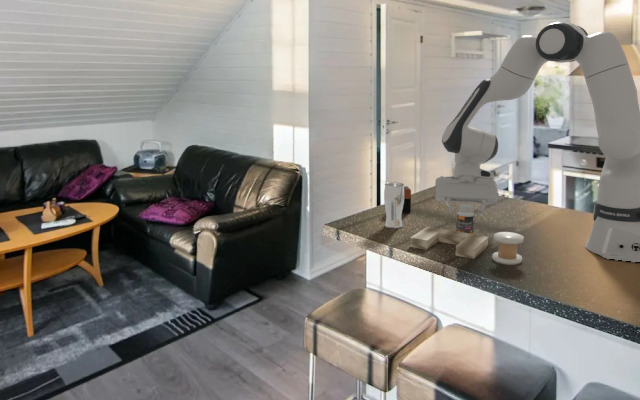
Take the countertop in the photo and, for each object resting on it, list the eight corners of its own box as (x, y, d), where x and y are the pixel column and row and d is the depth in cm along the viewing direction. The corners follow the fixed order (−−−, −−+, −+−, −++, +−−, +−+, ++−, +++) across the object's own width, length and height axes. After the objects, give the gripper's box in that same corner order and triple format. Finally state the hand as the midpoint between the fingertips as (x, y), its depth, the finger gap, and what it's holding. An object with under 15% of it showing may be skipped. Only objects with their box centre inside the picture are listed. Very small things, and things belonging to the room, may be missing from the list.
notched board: (487, 246, 156) (488, 236, 155) (474, 259, 146) (474, 249, 145) (427, 235, 167) (427, 226, 166) (410, 246, 157) (410, 237, 156)
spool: (525, 257, 146) (527, 234, 144) (517, 266, 139) (519, 242, 138) (496, 252, 150) (498, 230, 148) (488, 261, 144) (490, 237, 142)
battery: (391, 210, 197) (391, 185, 195) (408, 210, 197) (409, 185, 195) (392, 213, 193) (393, 187, 191) (410, 213, 193) (411, 187, 191)
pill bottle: (455, 236, 165) (457, 207, 163) (455, 231, 171) (457, 202, 168) (473, 237, 164) (475, 208, 162) (473, 232, 169) (474, 203, 167)
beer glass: (401, 222, 181) (402, 181, 177) (405, 228, 174) (406, 186, 171) (382, 223, 181) (382, 182, 177) (385, 229, 174) (385, 186, 170)
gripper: (435, 171, 174) (433, 205, 168) (498, 173, 169) (498, 209, 162) (435, 181, 180) (433, 215, 173) (496, 183, 174) (496, 218, 168)
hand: (465, 212), depth 168 cm, fingers open, 8 cm apart
